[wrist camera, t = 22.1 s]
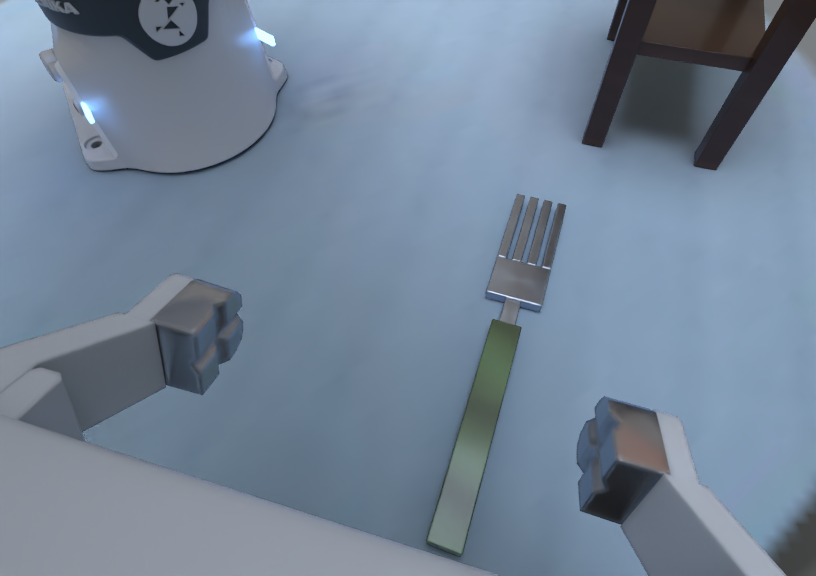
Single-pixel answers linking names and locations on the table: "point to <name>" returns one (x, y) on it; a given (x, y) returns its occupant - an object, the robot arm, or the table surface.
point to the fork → (493, 371)
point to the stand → (702, 56)
